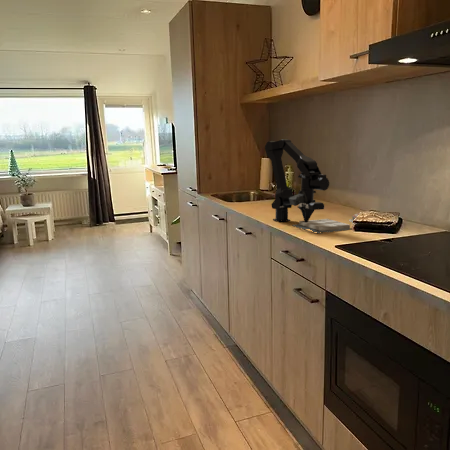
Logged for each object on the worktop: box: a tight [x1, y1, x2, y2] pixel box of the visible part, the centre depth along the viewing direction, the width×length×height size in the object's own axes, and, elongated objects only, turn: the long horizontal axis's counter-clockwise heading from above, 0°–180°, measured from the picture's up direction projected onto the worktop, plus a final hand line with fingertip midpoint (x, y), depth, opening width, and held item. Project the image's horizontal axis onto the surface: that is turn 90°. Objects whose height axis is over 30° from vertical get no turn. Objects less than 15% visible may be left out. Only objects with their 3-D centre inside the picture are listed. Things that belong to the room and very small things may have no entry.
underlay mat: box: [291, 223, 353, 234], centre depth 189 cm, size 19×19×1 cm
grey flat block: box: [318, 218, 351, 229], centre depth 192 cm, size 16×6×2 cm, turn 24°
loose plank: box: [298, 219, 339, 231], centre depth 189 cm, size 16×10×2 cm, turn 24°
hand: (306, 222), depth 192 cm, fingers closed, pressing on loose plank
